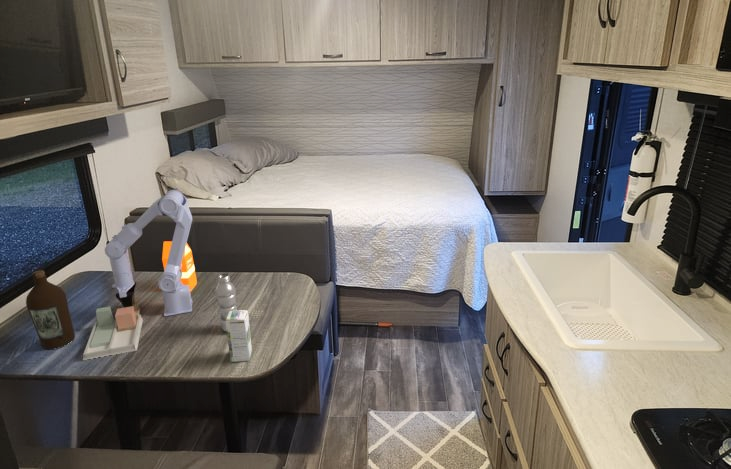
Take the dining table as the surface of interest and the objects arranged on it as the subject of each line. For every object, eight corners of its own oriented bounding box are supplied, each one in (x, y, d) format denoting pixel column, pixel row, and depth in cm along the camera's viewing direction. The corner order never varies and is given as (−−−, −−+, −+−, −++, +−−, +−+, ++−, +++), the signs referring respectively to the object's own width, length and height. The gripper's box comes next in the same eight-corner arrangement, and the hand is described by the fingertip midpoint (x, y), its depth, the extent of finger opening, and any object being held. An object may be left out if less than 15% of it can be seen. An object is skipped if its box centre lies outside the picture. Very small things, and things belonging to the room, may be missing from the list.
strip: (98, 325, 162) (94, 309, 160) (116, 322, 164) (112, 306, 161) (90, 347, 149) (86, 330, 147) (110, 344, 151) (106, 326, 149)
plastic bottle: (245, 325, 161) (238, 272, 154) (233, 336, 155) (225, 281, 148) (228, 322, 163) (221, 270, 156) (217, 333, 157) (208, 278, 150)
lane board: (95, 327, 162) (93, 322, 161) (142, 319, 167) (141, 314, 166) (83, 360, 144) (81, 354, 144) (136, 350, 149) (135, 344, 148)
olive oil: (46, 335, 158) (24, 267, 150) (81, 330, 161) (62, 263, 152) (34, 353, 149) (11, 282, 140) (72, 347, 151) (51, 277, 143)
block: (136, 318, 164) (133, 306, 162) (134, 326, 159) (131, 313, 157) (120, 321, 162) (117, 308, 160) (118, 329, 158) (115, 315, 156)
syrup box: (233, 351, 147) (227, 310, 142) (253, 350, 148) (247, 309, 142) (230, 362, 142) (224, 320, 137) (250, 361, 142) (244, 319, 137)
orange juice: (190, 292, 185) (182, 244, 178) (168, 292, 186) (158, 245, 178) (197, 283, 193) (189, 237, 186) (175, 283, 193) (167, 237, 186)
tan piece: (123, 311, 170) (119, 295, 168) (140, 309, 172) (136, 293, 170) (117, 331, 158) (113, 314, 156) (136, 328, 160) (132, 311, 157)
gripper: (112, 265, 170) (120, 299, 174) (106, 282, 157) (114, 318, 162) (134, 262, 172) (141, 295, 176) (129, 279, 159) (137, 314, 164)
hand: (130, 306), depth 169 cm, fingers open, 5 cm apart
